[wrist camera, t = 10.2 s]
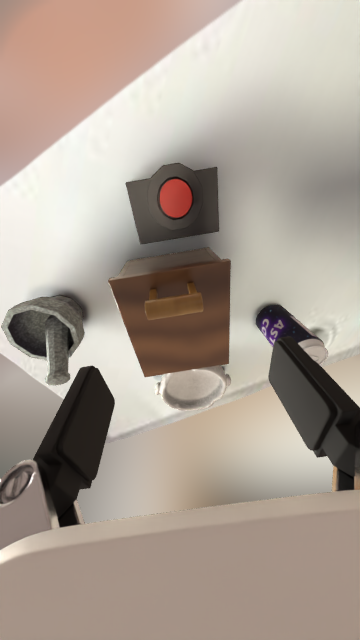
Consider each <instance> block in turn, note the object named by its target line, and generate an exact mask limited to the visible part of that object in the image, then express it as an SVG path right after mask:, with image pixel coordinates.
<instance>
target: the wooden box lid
mask: <svg viewBox="0 0 360 640" xmlns="http://www.w3.org/2000/svg"><path fill="white" fill-rule="evenodd" d="M230 269H231V261H230V260H229V259H223V260H217V261H210V262H204V263H198V264H192V265H186V266H180V267H174V268H168V269H162V270H156V271H150V272H144V273H138V274H132V275H126V276H120V277H113V278H109V280H108V283H109V285H110V288H111V290H112V293H113V296H114V298H115V301H116V303H117V306H118V309H119V311H120V314H121V316H122V319H123V322H124V324H125V327H126V329H127V332H128V335H129V337H130V340H131V342H132V345H133V348H134V350H135V353H136V356H137V358H138V361H139V363H140V366H141V369H142V371H143V374H144V376H145V377H150V376H156V375H162V374H168V373H175V372H181V371H187V370H193V369H200V368H206V367H212V366H218V365H225V364H229V325H230Z"/></svg>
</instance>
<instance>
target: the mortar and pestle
mask: <svg viewBox="0 0 360 640" xmlns="http://www.w3.org/2000/svg"><path fill="white" fill-rule="evenodd" d="M82 318H83V314H82V310H81V307H80V306H79V305H78V304H77V303H76V302H75V301H74V300H73V299H71V298H67V297H64V296H60V295H58V296H54V297H40V298H37V299H33V300H30V301H26V302H23V303H20V304H18V305H16V306H14V307H13V308H11V309H10V310H8V312H7V314H6V317H5V319H4V321H3V323H2V326H1V327H2V329H3V331H4V333H5V335H6V337H7V339H8V341H9V343H10V344H11V345H12V346H14V347H15V348H17V349H18V350H20V351H22V352H23V353H25V354H26V355H28V356H29V357H32V358H37V359H42V360H47V368H48V376H47V377H46V378H45V382H46V383H47V384H48V385H61V384H64V383H66V382H68V381H69V379H70V374H69V373H68V358H69V357H71V356H72V354H73V353H74V351H75V350H76V349H77V347H78V346H79V344H80V343H81V341H82V339H83V336H84V329H83V325H82Z"/></svg>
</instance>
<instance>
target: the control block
mask: <svg viewBox="0 0 360 640" xmlns="http://www.w3.org/2000/svg"><path fill="white" fill-rule="evenodd" d="M172 179H179V180H182V181H184V182H185V183H186V184H187V185H188V186H189V188H190V190H191V193H192V204H191V207H190V209H189V211H188V212H187V213H186V214H185V215H183V216H181V217H177V218H175V217H171V216H169V215H167V214H166V213H165V212H164V210H163V209H162V207H161V204H160V193H161V189H162V187H163V186H164V185H165V183H167V182H168V181H170V180H172ZM126 187H127V191H128V195H129V199H130V203H131V207H132V211H133V216H134V220H135V224H136V228H137V232H138V236H139V241H140V244H146V243H152V242H158V241H164V240H170V239H176V238H182V237H188V236H194V235H200V234H206V233H212V232H218V231H219V213H218V177H217V167H214V168H208V169H203V170H197V171H193V170H191V169H190V168H188V167H186V166H184V165H182V164H180V163H174V164H168V165H163V166H162V167H161V168H160V169H159V170H158V171H157V172H156V173H155V174H154V175H153V176H152V177H151V178H149V179H144V180H138V181H132V182H126Z"/></svg>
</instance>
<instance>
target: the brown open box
mask: <svg viewBox="0 0 360 640" xmlns="http://www.w3.org/2000/svg"><path fill="white" fill-rule="evenodd" d="M217 260H221V259H220V258H219V257H218V256H217V255H216V254H215V253H214V252H213V251H212V250H211V249H210V248H209V247H207V248H201V249H195V250H189V251H183V252H177V253H171V254H165V255H159V256H153V257H147V258H141V259H135V260H129V261H127V262H126V264H125V265H124V267H123V268H122V270H121V272H120V273H119V275H118V276H117V277H120V276H126V275H132V274H138V273H144V272H150V271H156V270H162V269H168V268H174V267H180V266H186V265H192V264H198V263H204V262H210V261H217Z"/></svg>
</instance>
